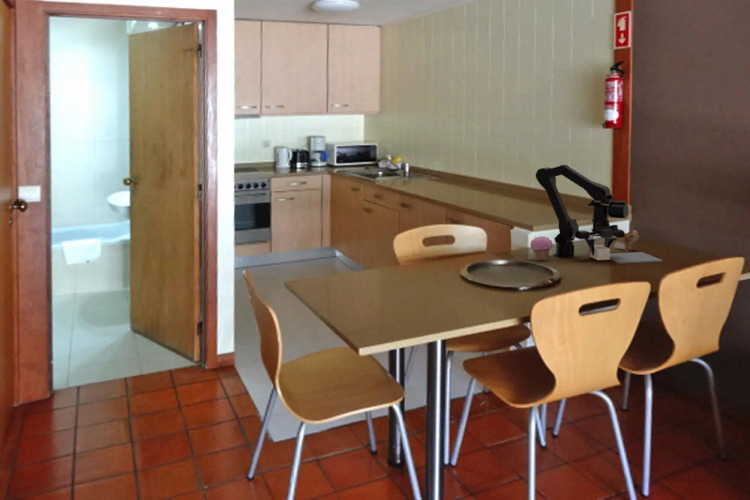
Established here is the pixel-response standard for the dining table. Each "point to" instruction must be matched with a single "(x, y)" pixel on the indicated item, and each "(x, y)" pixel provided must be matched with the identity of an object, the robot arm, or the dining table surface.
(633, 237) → the lion figurine
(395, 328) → the dining table surface
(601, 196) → the robot arm
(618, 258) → the mat
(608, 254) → the beige rectangular block
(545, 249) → the cupcake
